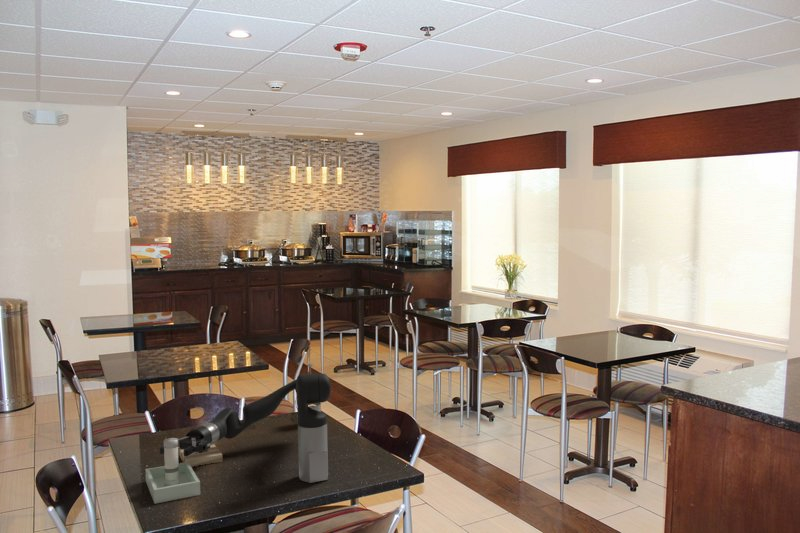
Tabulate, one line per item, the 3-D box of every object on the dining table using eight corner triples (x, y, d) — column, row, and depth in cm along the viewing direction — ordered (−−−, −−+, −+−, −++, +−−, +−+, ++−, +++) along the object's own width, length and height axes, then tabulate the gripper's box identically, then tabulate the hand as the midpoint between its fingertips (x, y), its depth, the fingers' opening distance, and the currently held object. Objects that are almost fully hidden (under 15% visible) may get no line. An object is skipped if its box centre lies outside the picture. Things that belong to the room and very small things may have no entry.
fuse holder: (222, 461, 224) (222, 454, 224) (186, 467, 218) (186, 460, 218) (212, 448, 238) (212, 441, 238) (178, 454, 232) (178, 447, 232)
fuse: (180, 485, 200) (179, 440, 199) (166, 488, 198) (164, 442, 197) (178, 481, 204) (176, 437, 203) (164, 483, 202) (162, 439, 201)
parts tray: (200, 494, 195) (200, 481, 195) (154, 503, 189) (154, 490, 189) (188, 473, 213) (187, 461, 213) (145, 481, 207) (145, 469, 206)
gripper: (184, 424, 218) (152, 438, 203) (221, 426, 214) (192, 441, 199) (184, 446, 219) (153, 462, 203) (222, 449, 215) (193, 466, 199)
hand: (172, 452), depth 201 cm, fingers open, 8 cm apart
